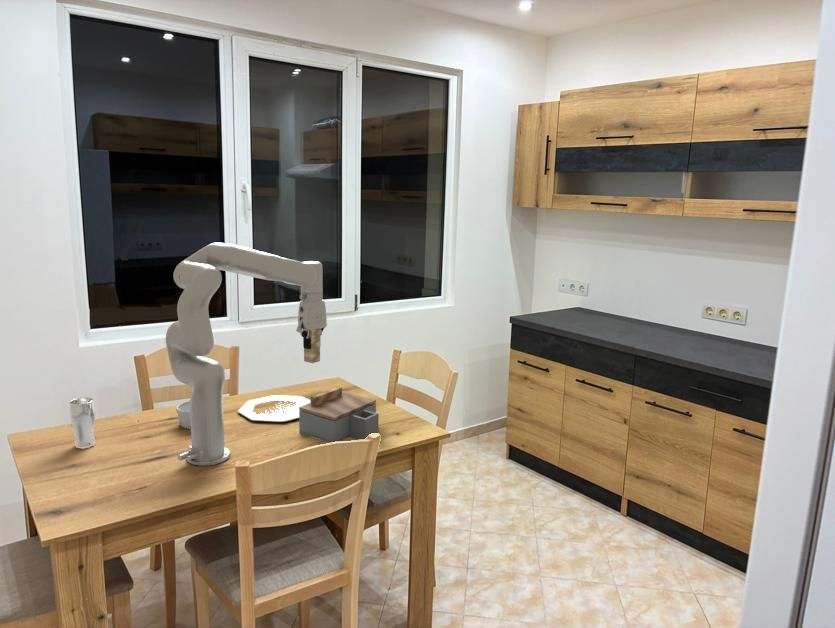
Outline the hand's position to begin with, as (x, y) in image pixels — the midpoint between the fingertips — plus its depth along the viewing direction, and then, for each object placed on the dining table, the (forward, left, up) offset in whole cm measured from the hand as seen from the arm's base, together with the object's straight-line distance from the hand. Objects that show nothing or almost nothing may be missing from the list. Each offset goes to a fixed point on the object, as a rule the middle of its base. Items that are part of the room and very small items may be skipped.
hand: (311, 346), depth 216 cm
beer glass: (-61, +40, -27) cm, 78 cm away
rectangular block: (0, 0, -5) cm, 5 cm away
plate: (-1, +16, -28) cm, 32 cm away
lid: (-1, -14, -19) cm, 23 cm away
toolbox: (-1, -17, -27) cm, 32 cm away
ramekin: (-28, +28, -27) cm, 49 cm away
